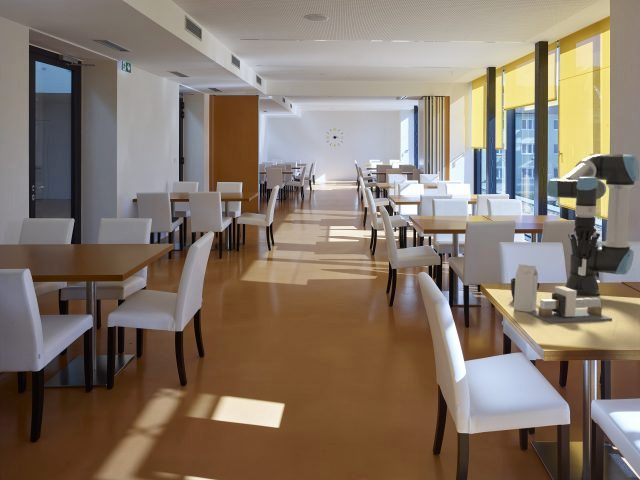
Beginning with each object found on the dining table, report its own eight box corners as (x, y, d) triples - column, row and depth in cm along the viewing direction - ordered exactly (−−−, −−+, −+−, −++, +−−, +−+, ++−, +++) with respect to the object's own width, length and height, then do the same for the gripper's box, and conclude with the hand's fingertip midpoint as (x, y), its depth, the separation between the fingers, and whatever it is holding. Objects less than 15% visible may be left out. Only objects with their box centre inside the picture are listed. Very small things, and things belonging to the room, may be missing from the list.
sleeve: (562, 310, 279) (563, 286, 278) (574, 316, 271) (576, 290, 269) (553, 311, 278) (554, 286, 277) (565, 316, 270) (567, 291, 268)
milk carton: (519, 307, 291) (521, 263, 288) (535, 309, 287) (538, 264, 284) (513, 310, 285) (515, 265, 283) (530, 312, 281) (533, 267, 279)
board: (587, 310, 286) (587, 309, 286) (612, 320, 270) (612, 318, 270) (528, 313, 280) (529, 311, 280) (550, 323, 265) (550, 321, 264)
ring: (554, 310, 277) (555, 292, 276) (564, 314, 270) (565, 296, 269) (551, 310, 277) (552, 293, 276) (561, 314, 270) (562, 296, 269)
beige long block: (593, 312, 280) (594, 296, 279) (601, 315, 275) (602, 299, 275) (538, 314, 275) (539, 298, 274) (545, 317, 270) (546, 301, 269)
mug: (536, 304, 296) (537, 283, 295) (508, 301, 302) (509, 280, 300) (539, 301, 303) (541, 279, 302) (512, 298, 309) (513, 277, 307)
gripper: (576, 217, 266) (572, 277, 269) (605, 216, 268) (602, 276, 272) (565, 215, 273) (561, 273, 276) (594, 214, 276) (590, 272, 279)
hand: (581, 274), depth 274 cm, fingers closed
